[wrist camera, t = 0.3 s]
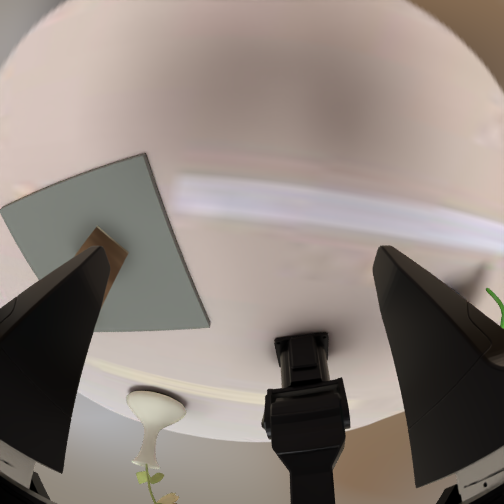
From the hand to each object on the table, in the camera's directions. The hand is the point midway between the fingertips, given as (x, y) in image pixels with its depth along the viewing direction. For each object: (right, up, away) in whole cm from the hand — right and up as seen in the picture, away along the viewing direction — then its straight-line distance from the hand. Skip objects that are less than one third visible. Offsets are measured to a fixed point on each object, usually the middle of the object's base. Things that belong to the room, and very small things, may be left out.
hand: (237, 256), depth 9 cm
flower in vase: (-16, -26, +38) cm, 49 cm away
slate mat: (-16, -1, +19) cm, 25 cm away
